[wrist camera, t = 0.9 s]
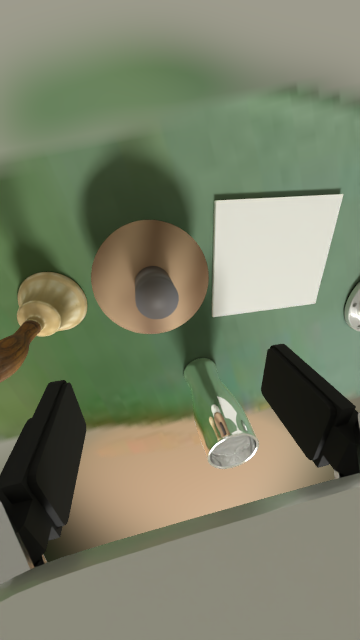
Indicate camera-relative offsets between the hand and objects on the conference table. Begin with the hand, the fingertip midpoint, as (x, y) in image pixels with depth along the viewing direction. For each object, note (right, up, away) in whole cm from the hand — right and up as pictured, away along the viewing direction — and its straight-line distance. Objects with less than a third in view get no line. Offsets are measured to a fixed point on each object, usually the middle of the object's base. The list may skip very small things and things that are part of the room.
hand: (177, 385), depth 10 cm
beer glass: (+4, -6, +29) cm, 30 cm away
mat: (+14, +12, +22) cm, 28 cm away
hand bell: (-17, +6, +19) cm, 26 cm away
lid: (-3, +8, +15) cm, 17 cm away
